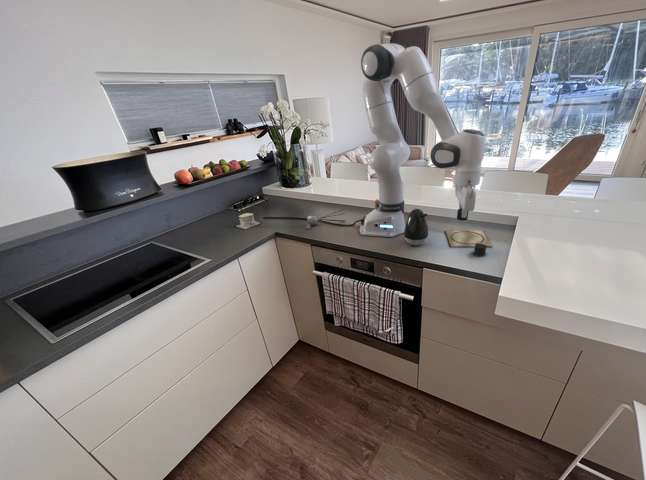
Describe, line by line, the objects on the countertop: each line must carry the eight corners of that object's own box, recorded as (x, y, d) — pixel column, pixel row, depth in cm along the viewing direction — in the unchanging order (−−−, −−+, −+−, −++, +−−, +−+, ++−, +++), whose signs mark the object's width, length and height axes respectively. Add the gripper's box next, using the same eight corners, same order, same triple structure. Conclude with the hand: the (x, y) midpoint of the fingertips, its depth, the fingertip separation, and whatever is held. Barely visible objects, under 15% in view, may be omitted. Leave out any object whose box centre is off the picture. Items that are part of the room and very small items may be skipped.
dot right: (475, 256, 110) (476, 248, 108) (472, 251, 113) (474, 243, 112) (486, 256, 109) (487, 248, 108) (483, 251, 113) (484, 243, 111)
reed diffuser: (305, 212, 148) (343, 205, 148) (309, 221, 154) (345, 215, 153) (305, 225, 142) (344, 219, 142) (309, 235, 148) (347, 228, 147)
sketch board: (450, 247, 118) (450, 245, 118) (445, 231, 132) (445, 230, 131) (491, 247, 116) (491, 245, 115) (482, 231, 129) (482, 230, 129)
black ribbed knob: (459, 221, 110) (460, 212, 108) (454, 217, 113) (455, 209, 112) (469, 219, 110) (470, 211, 109) (464, 216, 114) (465, 207, 112)
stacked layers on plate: (245, 229, 150) (242, 219, 147) (235, 226, 155) (232, 216, 152) (261, 223, 156) (258, 213, 154) (251, 220, 161) (249, 211, 159)
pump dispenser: (416, 250, 117) (417, 215, 110) (398, 242, 125) (399, 209, 117) (433, 243, 122) (435, 208, 115) (415, 235, 130) (416, 203, 122)
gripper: (482, 185, 95) (476, 224, 102) (470, 172, 112) (466, 206, 119) (463, 186, 96) (458, 224, 103) (454, 172, 113) (450, 206, 120)
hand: (462, 214), depth 111 cm, fingers closed on black ribbed knob, 4 cm apart
